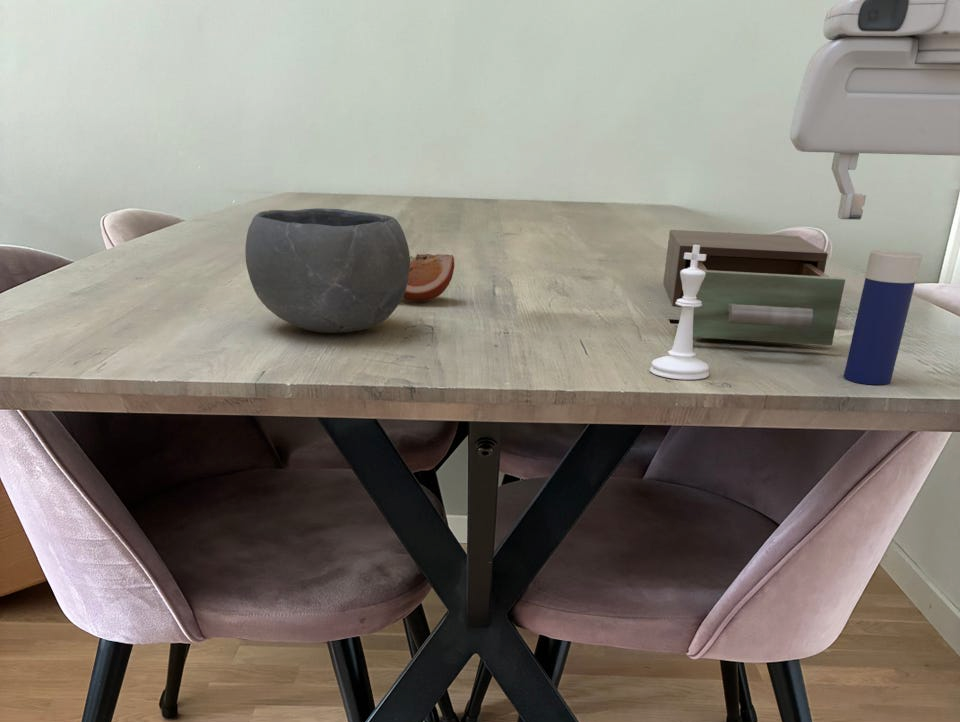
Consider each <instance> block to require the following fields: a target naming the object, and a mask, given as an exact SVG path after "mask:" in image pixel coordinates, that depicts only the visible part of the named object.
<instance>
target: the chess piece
mask: <svg viewBox="0 0 960 722" xmlns="http://www.w3.org/2000/svg"><path fill="white" fill-rule="evenodd" d="M699 250H700V245H693V250H692V253H684V259H690V260H691V264H690V267H688V268H687V269H683V270H681V271H680V276H681V281H682V297H681V299H677V302H676V303H675V304H676V305H679V306H680V307H681V312H680V318H679V320H680V321H679V324H677V329H676V333H675V337H674V341H673V344H672V347H671V349H670V350H668V351H667V353H668V354H669V355H664V356H660V357H658V358H655V359H653V360H652V361H651V367H650V368H649V372H650V373H651V374H653V375H656V376H658V377H660V378H667V379H671V380H682V381H690V380H691V381H695V380H702V379H706V378H708V377H709V376H710V372H709V370H710V366H709V364H708V363H707V362H705V361H703V360H701V359H699V358H696V357H694V356H697V353H696V352H695V351H694V347H693V346H694V345H693V342H694V341H693V340H694V339H693V338H694V337H693V314H694V307H700V306H702V304H701V303H702V302H701V301H700V300H696V298H697V297H696V295H697V293H698V291H699V288H700V286H701V283H702V281H703V280H704V277H705V275H706V273H705V272H704V271H703V270H700V269H699V268H697V265H698V260H699V261H706V254H699ZM683 295H684V296H683Z"/></svg>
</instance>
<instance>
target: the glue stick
mask: <svg viewBox="0 0 960 722" xmlns="http://www.w3.org/2000/svg"><path fill="white" fill-rule="evenodd" d="M869 252H870V253H869V256H868V260H867V266H866V270H865V274H864V277H865V278H864V281H863V287H862V292H861V296H860V301H859V305H858V309H857V314H856V317H855V318H856V319H855V323H854V327H853V333H852V336H851V340H850V346H849V349H848V355H847V359H846V363H845V367H844V372H843V378H844V379H845V380H847V381H849V382H853V383H857V384H862V385H869V386H871V385H872V386H883V385H889V384H890V383H892V378H893V375H894V371H895V366H896V362H897V358H898V354H899V350H900V345H901V342H902V338H903V333H904V330H905V326H906V321H907V317H908V314H909V309H910V305H911V301H912V298H913V293H914V289H915V284H916V282H917V279H918V275H919V271H920V268H921V263H922V261H923V260H922V259H923V255H922V254H921V253H916V252H911V251H903V250H891V249H889V250H888V249H877V250H876V249H874V250H871V251H869Z"/></svg>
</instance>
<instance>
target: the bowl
mask: <svg viewBox="0 0 960 722" xmlns="http://www.w3.org/2000/svg"><path fill="white" fill-rule="evenodd" d="M244 249H245V251H244V252H245V253H244V254H245V264H246V270H247V273H248V278H249V280H250V284H251V285H252V289H253V291H254V293H255V294H256V297H257V298H258V299H259V301H260V302H261V303H262V304H263V305H264V307H266V309H267V310H268V311H270V312H272V314H274V315H275V316H277V317H278V318H279V319H281V320H282V321H285V322H287V323H289V324H290V325H293V326H295V327H297V328H300V329H303V330H307V331H311V332H316V333H324V334H341V333H342V334H343V333H353V332H359V331H362V330H367V329H369V328H372V327H373V328H374V327H376V326H377V325H380V324H382V323H383V322H385V321H386V320H387V319H388V318H389V317H390V316H391V315H392V314H393V312H394V311H395V310H396V309H397V307H398V306H399V305H400V303H401V302H402V300H403V299H404V298H403V296H404V294H405V291H406V287H407V284H408V278H409V271H410V257H411V255H410V249H409V244H408V241H407V237H406V235H405V233H404V229H403V228H402V226H401V224H400V222H399V221H398V219H396V218H395V217H394V216H390V215H386V214H380V213H372V212H364V211H356V210H348V209H342V208H341V209H340V208H322V207H321V208H317V207H316V208H302V209H294V210H288V209H287V210H286V209H270V210H264V211H260V212H257V213H256V214H255V215H254V216H253V218H252V220H251V222H250V224H249V226H248V229H247V233H246V240H245V248H244Z"/></svg>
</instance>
